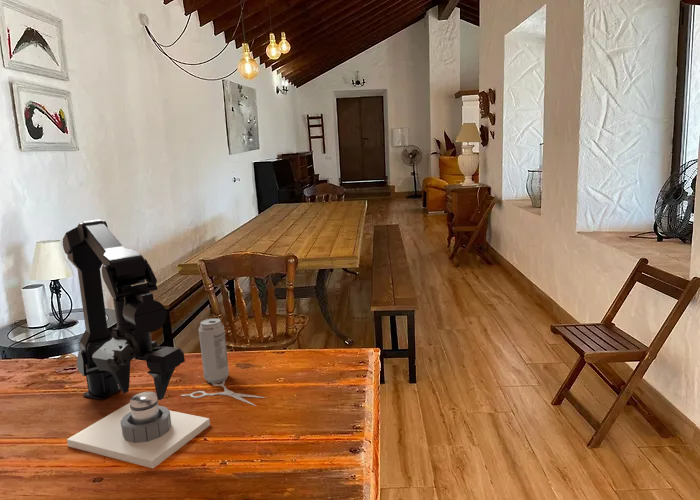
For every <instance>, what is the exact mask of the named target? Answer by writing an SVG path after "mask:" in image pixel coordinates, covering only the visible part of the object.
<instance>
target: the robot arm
mask: <svg viewBox="0 0 700 500" xmlns="http://www.w3.org/2000/svg"><path fill="white" fill-rule="evenodd" d="M62 249H63V251H64V253H65V255H67V256H66V257H67V260H68V261H69V262H71V264H72V265H73V266H74V267H75V268H76V269H77V275H78V276H77V277H78V282H79V283H78V285H79V289H80V290H79V292H80V297H81V304H82V305H81V306H82V312H83V313H82V314H83V318H84V327H85V331H84V333H82V336H81V338H80V340H79V349H80V350H79V351H78V353H77V359H76V365H77V371H78V372H79V373H80V375H82V376H83V377H86V379H85V380H86V384H87V391H86V392H84V393H82V396H83V397H86V398H91V399H95V400H101V401H102V400H104V399H107V398H109V397H110V396H111V395H113V394H116V393H118V392H119V391H121V392H122V394H127V393H129V389H130V380H131V379H130V378H131V362H132V360H136V361H144V362H146V367H147V368H148V371H147V372H146V373H147V374H148V375H149V376H151V377H152V378H153V382H154V383H153V384H154V388H155V393H156V394H157V398H158V401H161V400H163V399H164V398H165V395H166V392H167V389H168V386H169V384H170V381H171V379H172V376H173V373H174V372H175V369H176V368H177V367H179V366H180V365H181V364H183V363H185V362H186V361H185V351H184V350H182V349H181V348H180V347H173V346H164V347H162V348H160V349H158V350H155V351H153V349H155V348H157V347H158V344H157V343H158V341H154V340H152V333H154V332H156V331H158V330H160V329H161V328H162V327H163V325H164V324H165V323H166V320H167V315H168V314H167V309H166V307H165V305H163V304H162V302H160V301H158V300H156V299H154V293H152V292H155V291H158V285H157V283H158V279H157V278H156V275H155V273H154V271H153V269H152V267H151V265H150V264H149V262H148V260H147V258H145V257H144V255H142V254H141V253H139V252H138V251H137V250H135V249H131V248H127V247H124V246H123V244H122V243H121V242H120V240H119V239H117V237H116V236H115V235H114V234H113V232H111V230H110V229H109V227H108V224H107V221H106V220H102V219H94V220H87V221H82V222H80V223H78V225H77V226H76V227H74V228H72V229H71V230H68V231H66V232H65V234H64V236H63V237H62ZM102 279H103V281H102ZM103 282H104V284H105V286H106V287H107V290H108V292H109V294H110V296H111V297H112V299H113V301H112V302H113V308H114V314H115V321H116V327H113V328H112V331H110V330H109V328H108V322H107V314H106V306H105V299H104V290H103Z"/></svg>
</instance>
